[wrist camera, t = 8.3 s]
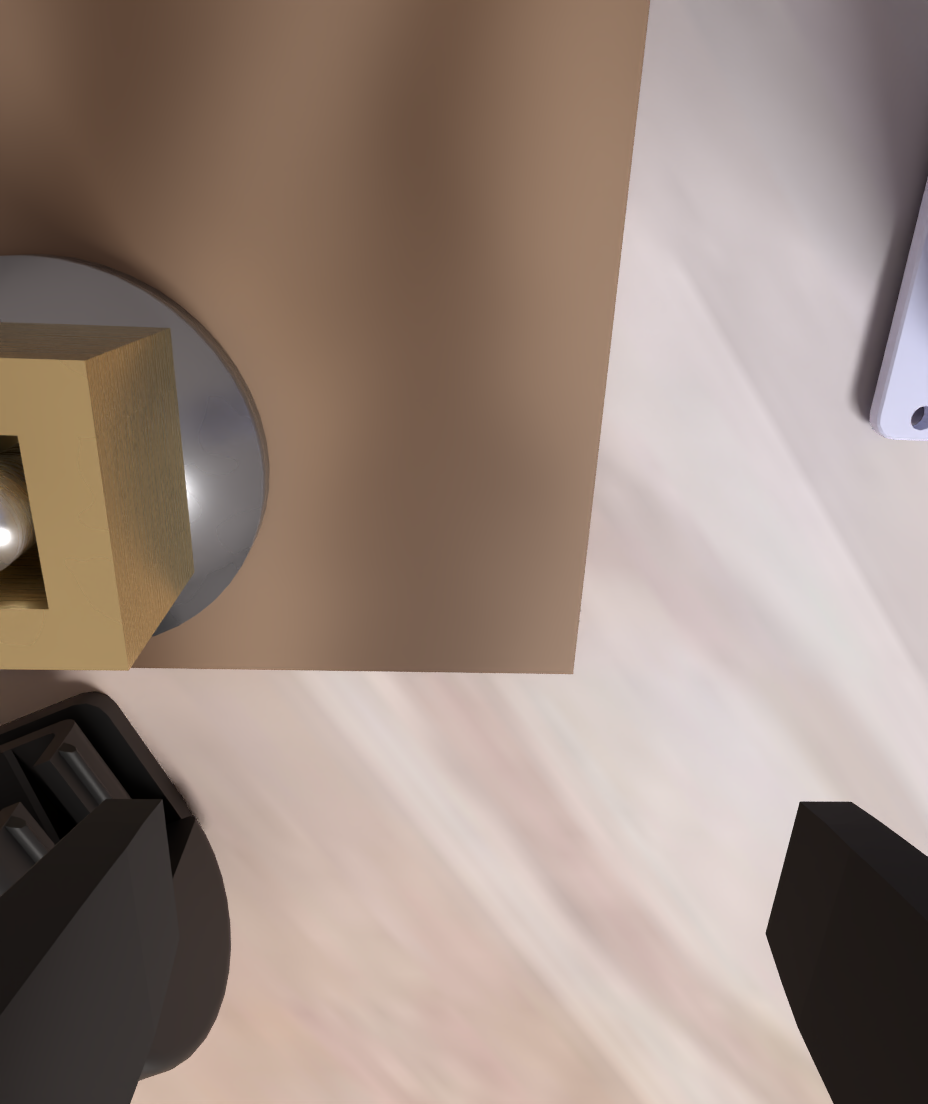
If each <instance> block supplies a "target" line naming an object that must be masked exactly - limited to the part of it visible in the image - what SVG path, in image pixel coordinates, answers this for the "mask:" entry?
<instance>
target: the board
mask: <svg viewBox="0 0 928 1104" xmlns="http://www.w3.org/2000/svg"><path fill="white" fill-rule="evenodd" d="M649 5H650V0H0V256H7V255H36V254H47V255H56V256H65V257H73V258H78V259H82V260H86V261H90V262H94V263H98V264H102V265H105V266H107V267H110V268H113V269H115V270H118V271H121V272H123V273H126V274H128V275H131V276H133V277H135V278H137V279H138V280H140V281H142V282H144V283H146V284H148V285H150V286H152V287H154V288H156V289H157V290H159V291H160V292H162V293H163V294H164V295H166V296H167V297H169V298H170V299H172V300H173V301H175V302H176V303H178V304H179V305H180V306H182V307H183V308H184V309H185V310H186V311H187V312H189V313H190V314H191V315H192V316H193V317H194V318H195V319H197V320H198V321H199V322H200V323H201V324H202V325H203V326H204V327H205V328H206V329H207V330H208V331H209V332H210V333H211V335H212V336H213V337H214V338H215V339H216V340H217V341H218V342H219V343H220V344H221V346H222V347H223V348H224V350H225V351H226V352H227V354H228V355H229V357H230V358H231V359H232V361H233V362H234V364H235V365H236V366H237V368H238V370H239V371H240V373H241V375H242V377H243V379H244V381H245V382H246V384H247V386H248V388H249V390H250V391H251V394H252V396H253V399H254V401H255V404H256V406H257V409H258V411H259V414H260V416H261V420H262V424H263V428H264V432H265V436H266V440H267V447H268V455H269V464H270V473H269V493H268V499H267V505H266V511H265V515H264V518H263V521H262V524H261V527H260V530H259V533H258V535H257V537H256V539H255V541H254V543H253V546H252V548H251V550H250V552H249V554H248V555H247V557H246V559H245V561H244V563H243V565H242V566H241V568H240V569H239V571H238V572H237V574H236V575H235V577H234V578H233V580H232V581H231V583H230V584H229V585H228V586H227V587H226V588H225V590H224V591H223V592H222V593H221V594H220V595H219V596H218V597H217V598H216V599H215V600H214V601H213V602H212V603H211V604H210V605H208V606H207V607H206V608H205V609H203V610H202V611H201V612H200V613H198V614H197V615H196V616H194V617H192V618H191V619H189V620H187V621H186V622H184V623H182V624H181V625H179V626H177V627H175V628H173V629H170V630H168V631H166V632H163V633H161V634H159V635H156V636H153V637H151V638H150V639H149V641H148V642H147V644H146V645H145V647H144V648H143V650H142V651H141V653H140V654H139V656H138V657H137V659H136V660H135V662H134V663H133V665H132V666H131V668H188V669H257V670H327V671H397V672H466V673H536V674H573V669H574V660H575V651H576V642H577V634H578V625H579V616H580V607H581V599H582V590H583V581H584V573H585V564H586V555H587V546H588V538H589V529H590V520H591V511H592V503H593V494H594V485H595V476H596V468H597V459H598V450H599V442H600V433H601V424H602V415H603V407H604V398H605V389H606V380H607V372H608V363H609V354H610V346H611V337H612V328H613V319H614V311H615V302H616V293H617V284H618V276H619V267H620V258H621V249H622V241H623V232H624V223H625V215H626V206H627V197H628V188H629V180H630V171H631V162H632V153H633V145H634V136H635V127H636V118H637V110H638V101H639V92H640V84H641V75H642V66H643V57H644V49H645V40H646V31H647V22H648V14H649Z"/></svg>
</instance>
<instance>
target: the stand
mask: <svg viewBox="0 0 928 1104" xmlns="http://www.w3.org/2000/svg"><path fill="white" fill-rule="evenodd" d="M0 322H15V323H44V324H72V325H100V326H129V327H157V328H170V329H171V339H172V349H173V359H174V369H175V380H176V390H177V400H178V410H179V420H180V430H181V440H182V450H183V460H184V470H185V480H186V490H187V501H188V511H189V521H190V531H191V541H192V551H193V561H194V571H195V572H194V574H193V575H192V577H191V578H190V580H189V581H188V583H187V584H186V586H185V587H184V589H183V590H182V592H181V593H180V595H179V596H178V598H177V599H176V601H175V602H174V604H173V605H172V607H171V608H170V610H169V611H168V613H167V614H166V616H165V617H164V619H163V620H162V622H161V623H160V625H159V626H158V627H157V629H156V630H155V632H154V633H153V635H152V636H151V637H153V636H156V635H159V634H161V633H163V632H166V631H168V630H170V629H173V628H175V627H177V626H179V625H181V624H182V623H184V622H186V621H187V620H189V619H191V618H192V617H194V616H196V615H197V614H198V613H200V612H201V611H202V610H203V609H205V608H206V607H207V606H208V605H210V604H211V603H212V602H213V601H214V600H215V599H216V598H217V597H218V596H219V595H220V594H221V593H222V592H223V591H224V590H225V588H226V587H227V586H228V585H229V584H230V583H231V581H232V580H233V578H234V577H235V575H236V574H237V572H238V571H239V569H240V568H241V566H242V565H243V563H244V561H245V559H246V557H247V555H248V554H249V552H250V550H251V548H252V546H253V543H254V541H255V539H256V537H257V535H258V533H259V530H260V527H261V524H262V521H263V518H264V515H265V511H266V505H267V499H268V493H269V473H270V464H269V455H268V447H267V440H266V436H265V432H264V428H263V424H262V420H261V416H260V414H259V411H258V409H257V406H256V404H255V401H254V399H253V396H252V394H251V391H250V390H249V388H248V386H247V384H246V382H245V381H244V379H243V377H242V375H241V373H240V371H239V370H238V368H237V366H236V365H235V364H234V362H233V361H232V359H231V358H230V357H229V355H228V354H227V352H226V351H225V350H224V348H223V347H222V346H221V344H220V343H219V342H218V341H217V340H216V339H215V338H214V337H213V336H212V335H211V333H210V332H209V331H208V330H207V329H206V328H205V327H204V326H203V325H202V324H201V323H200V322H199V321H198V320H197V319H195V318H194V317H193V316H192V315H191V314H190V313H189V312H187V311H186V310H185V309H184V308H183V307H182V306H180V305H179V304H178V303H176V302H175V301H173V300H172V299H170V298H169V297H167V296H166V295H164V294H163V293H162V292H160V291H159V290H157V289H156V288H154V287H152V286H150V285H148V284H146V283H144V282H142V281H140V280H138V279H137V278H135V277H133V276H131V275H128V274H126V273H123V272H121V271H118V270H115V269H113V268H110V267H107V266H105V265H102V264H98V263H94V262H90V261H86V260H82V259H78V258H73V257H65V256H56V255H47V254H36V255H7V256H0ZM36 543H37V541H36V535H35V530H34V524H33V518H32V513H31V507H30V502H29V496H28V491H27V485H26V480H25V474H24V469H23V463H22V457H21V452H20V446H19V441H18V436H14V435H0V571H1V570H3V569H4V568H6V567H7V566H8V565H10V564H11V563H12V562H13V561H15V560H16V559H17V558H18V557H19V556H21V555H22V554H23V553H24V552H26V551H27V550H28V549H29V548H31V547H32V546H33V545H34V544H36Z"/></svg>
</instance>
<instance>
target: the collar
mask: <svg viewBox="0 0 928 1104" xmlns="http://www.w3.org/2000/svg"><path fill="white" fill-rule="evenodd" d="M0 435H14V436H18V441H19V446H20V452H21V457H22V463H23V469H24V474H25V480H26V485H27V491H28V496H29V502H30V507H31V513H32V518H33V524H34V530H35V535H36V541H37V543H36V544H34V545H33V546H32V547H31V548H29V549H28V550H27V551H26V552H24V553H23V554H22V555H21V556H19V557H18V558H17V559H16V560H15V561H13V562H12V563H11V564H10V565H8V566H7V567H6V568H4V569H3V570H1V571H0V669H22V670H129V669H130V668H131V666H132V665H133V663H134V662H135V660H136V659H137V657H138V656H139V654H140V653H141V651H142V650H143V648H144V647H145V645H146V644H147V642H148V641H149V639H150V638H151V636H152V635H153V633H154V632H155V630H156V629H157V627H158V626H159V625H160V623H161V622H162V620H163V619H164V617H165V616H166V614H167V613H168V611H169V610H170V608H171V607H172V605H173V604H174V602H175V601H176V599H177V598H178V596H179V595H180V593H181V592H182V590H183V589H184V587H185V586H186V584H187V583H188V581H189V580H190V578H191V577H192V575H193V574H194V572H195V571H194V561H193V551H192V541H191V531H190V521H189V511H188V501H187V490H186V480H185V470H184V460H183V450H182V440H181V430H180V420H179V410H178V400H177V390H176V380H175V369H174V359H173V349H172V339H171V329H170V328H157V327H129V326H100V325H72V324H44V323H15V322H0Z"/></svg>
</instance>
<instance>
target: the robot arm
mask: <svg viewBox="0 0 928 1104" xmlns="http://www.w3.org/2000/svg"><path fill="white" fill-rule="evenodd" d="M920 407H924V416H923V418H922V420H921V421H920V422H919V423H917V424H916V425H913V426H912V425H911V417H912V415H913V413H914V412H915V411H916V410H917V409H918V408H920ZM869 422H870V424H871V427H872V429H873V430H874V431H875V432H876V433H877V434H879V435H881V436H883V437H886V438H889V439H893V440H921V441H928V178H927V182H926V186H925V191H924V195H923V199H922V203H921V207H920V211H919V215H918V219H917V223H916V227H915V231H914V235H913V239H912V244H911V248H910V252H909V256H908V260H907V264H906V268H905V272H904V276H903V280H902V284H901V288H900V292H899V297H898V301H897V305H896V309H895V313H894V317H893V321H892V325H891V329H890V333H889V337H888V341H887V345H886V350H885V354H884V358H883V362H882V366H881V370H880V374H879V378H878V382H877V386H876V390H875V394H874V398H873V403H872V407H871V411H870V421H869ZM766 936H767V939H768V942H769V945H770V948H771V951H772V954H773V958H774V961H775V964H776V967H777V970H778V973H779V976H780V979H781V982H782V985H783V988H784V990H785V993H786V996H787V999H788V1001H789V1004H790V1007H791V1010H792V1012H793V1015H794V1018H795V1021H796V1024H797V1026H798V1029H799V1031H800V1033H801V1035H802V1037H803V1039H804V1042H805V1044H806V1046H807V1048H808V1050H809V1052H810V1055H811V1057H812V1059H813V1061H814V1063H815V1065H816V1067H817V1069H818V1072H819V1074H820V1076H821V1078H822V1080H823V1082H824V1084H825V1086H826V1089H827V1091H828V1093H829V1095H830V1097H831V1099H832V1101H833V1103H834V1104H928V857H927V856H926V855H925V854H923V853H922V852H921V851H919V850H918V849H916V848H915V847H914V846H912V845H911V844H910V843H908V842H907V841H906V840H904V839H903V838H902V837H900V836H899V835H898V834H896V833H895V832H894V831H892V830H891V829H889V828H888V827H887V826H885V825H884V824H883V823H881V822H880V821H878V820H877V819H875V818H874V817H873V816H871V815H870V814H868V813H867V812H865V811H864V810H862V809H861V808H860V807H858V806H857V805H855V804H854V803H852V802H800V803H799V807H798V811H797V815H796V819H795V822H794V826H793V830H792V834H791V838H790V842H789V845H788V849H787V853H786V857H785V861H784V865H783V868H782V872H781V876H780V880H779V884H778V888H777V891H776V895H775V899H774V903H773V907H772V911H771V914H770V918H769V922H768V926H767V930H766ZM179 939H180V935H179V927H178V919H177V911H176V903H175V895H174V887H173V879H172V871H171V863H170V855H169V847H168V839H167V831H166V823H165V815H164V807H163V799H105V800H104V801H103V802H102V803H101V804H100V805H99V806H97V807H96V808H95V809H94V810H93V811H92V812H91V813H90V814H88V815H87V816H86V817H85V818H84V819H83V820H82V821H81V822H80V823H78V824H77V825H76V826H75V827H74V828H73V829H72V830H71V831H70V832H69V833H68V834H67V835H66V836H64V837H63V838H62V839H61V840H60V841H59V842H58V843H57V844H56V845H55V846H54V847H53V848H52V849H51V850H49V851H48V852H47V853H46V854H45V855H44V856H43V857H42V858H41V859H40V860H39V861H38V862H37V863H36V864H34V865H33V866H32V867H31V868H30V869H29V870H28V871H27V872H26V873H25V874H24V875H23V876H22V877H21V878H19V879H18V880H17V881H16V882H15V883H14V884H13V885H12V886H11V887H10V888H9V889H8V890H6V891H5V892H4V893H3V894H2V895H1V896H0V1104H130V1103H131V1100H132V1097H133V1094H134V1092H135V1089H136V1086H137V1084H138V1081H139V1078H140V1075H141V1073H142V1070H143V1067H144V1065H145V1062H146V1059H147V1056H148V1053H149V1051H150V1048H151V1045H152V1042H153V1039H154V1037H155V1033H156V1029H157V1026H158V1022H159V1018H160V1014H161V1010H162V1007H163V1003H164V999H165V995H166V992H167V988H168V984H169V979H170V975H171V971H172V967H173V963H174V959H175V955H176V951H177V947H178V943H179Z"/></svg>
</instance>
